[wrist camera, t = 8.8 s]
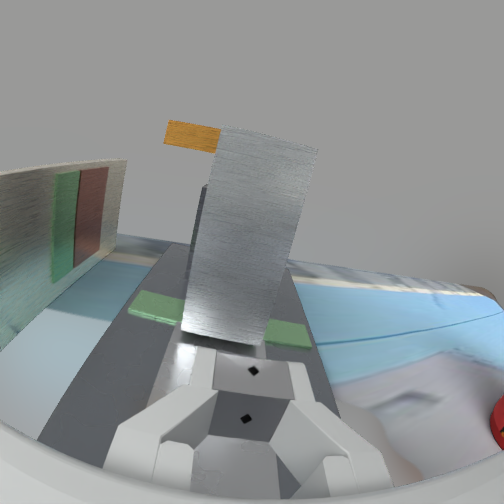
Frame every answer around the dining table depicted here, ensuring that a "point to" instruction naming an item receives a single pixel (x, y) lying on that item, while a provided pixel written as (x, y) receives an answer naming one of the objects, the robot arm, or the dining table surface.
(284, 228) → the brushed steel slab
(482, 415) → the dining table surface
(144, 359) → the base
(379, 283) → the dining table surface
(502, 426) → the canned food
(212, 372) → the robot arm
